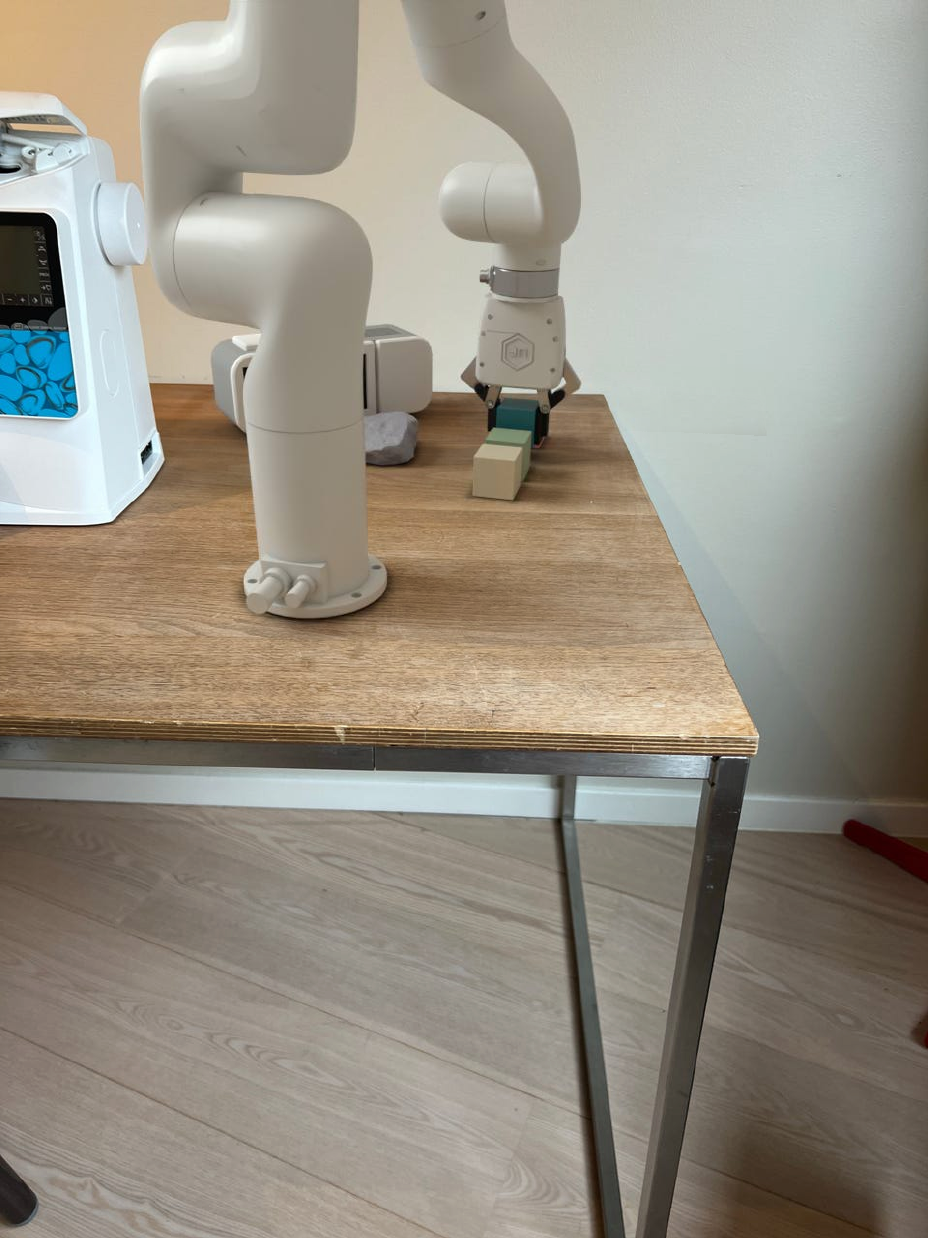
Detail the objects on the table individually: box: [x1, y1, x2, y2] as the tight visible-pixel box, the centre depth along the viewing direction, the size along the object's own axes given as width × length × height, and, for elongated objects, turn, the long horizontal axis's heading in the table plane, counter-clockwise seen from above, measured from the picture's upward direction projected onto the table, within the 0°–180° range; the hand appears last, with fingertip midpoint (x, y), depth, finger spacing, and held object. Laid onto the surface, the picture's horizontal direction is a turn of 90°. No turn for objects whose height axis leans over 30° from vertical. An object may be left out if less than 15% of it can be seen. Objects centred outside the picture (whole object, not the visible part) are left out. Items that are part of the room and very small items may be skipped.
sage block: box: [484, 428, 532, 483], centre depth 105 cm, size 5×5×5 cm
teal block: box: [496, 397, 539, 449], centre depth 110 cm, size 5×5×5 cm
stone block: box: [364, 412, 419, 466], centre depth 111 cm, size 12×5×10 cm
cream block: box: [472, 443, 523, 501], centre depth 100 cm, size 5×5×5 cm
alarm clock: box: [210, 323, 434, 434], centre depth 119 cm, size 27×9×12 cm, turn 120°
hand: (517, 438), depth 111 cm, fingers closed on teal block, 4 cm apart
